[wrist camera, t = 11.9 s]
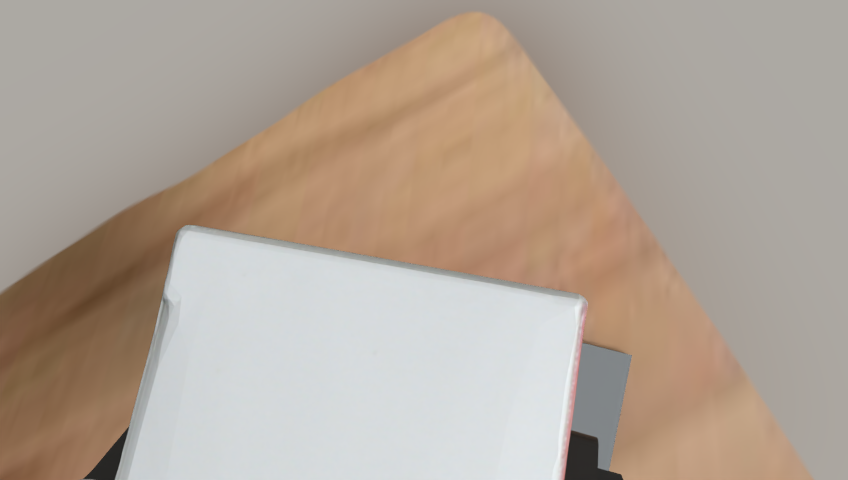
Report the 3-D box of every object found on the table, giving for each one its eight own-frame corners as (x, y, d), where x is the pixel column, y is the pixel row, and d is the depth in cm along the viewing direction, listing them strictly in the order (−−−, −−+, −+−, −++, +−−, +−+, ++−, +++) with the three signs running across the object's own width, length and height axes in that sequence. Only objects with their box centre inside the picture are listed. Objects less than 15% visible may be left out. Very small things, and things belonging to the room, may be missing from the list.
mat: (272, 485, 32) (268, 487, 31) (333, 279, 34) (330, 278, 33) (583, 583, 29) (585, 587, 29) (629, 355, 31) (631, 355, 31)
